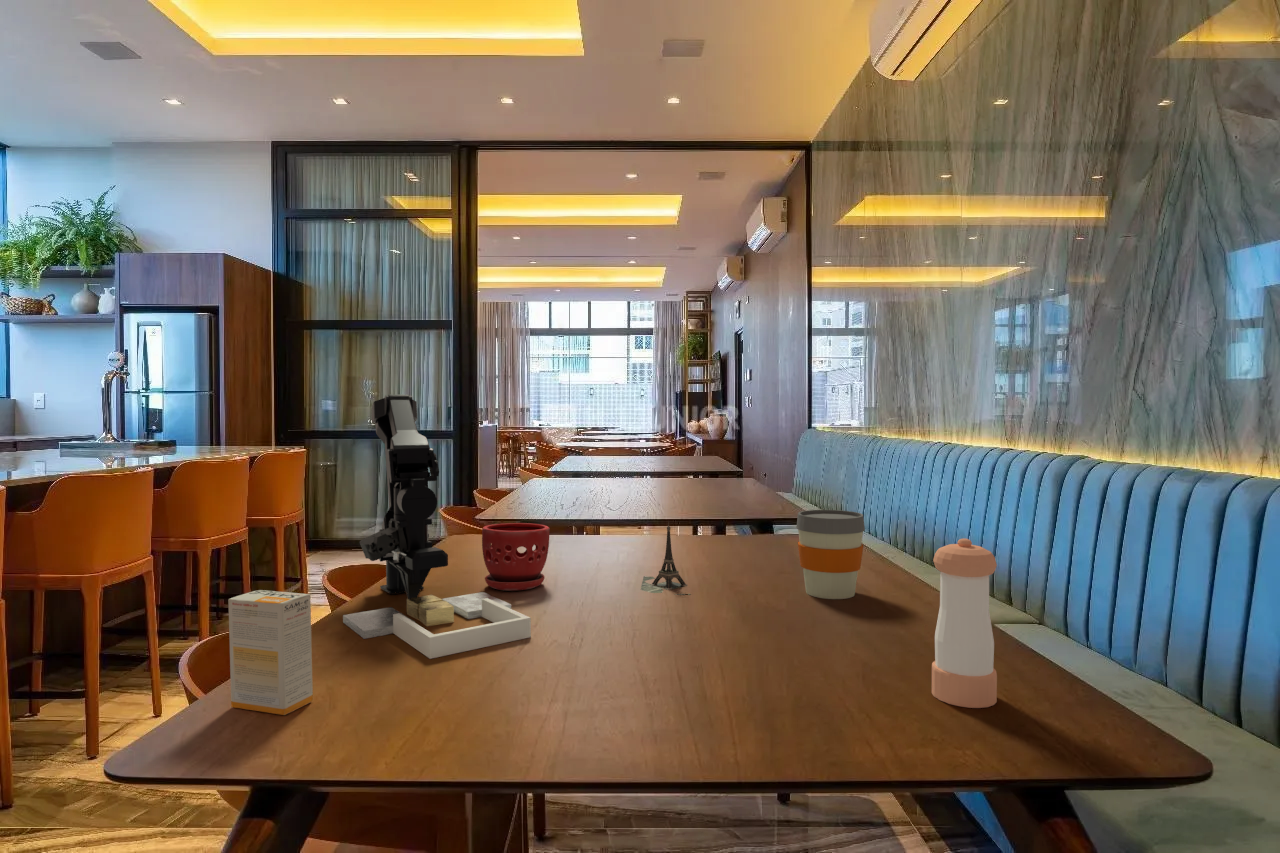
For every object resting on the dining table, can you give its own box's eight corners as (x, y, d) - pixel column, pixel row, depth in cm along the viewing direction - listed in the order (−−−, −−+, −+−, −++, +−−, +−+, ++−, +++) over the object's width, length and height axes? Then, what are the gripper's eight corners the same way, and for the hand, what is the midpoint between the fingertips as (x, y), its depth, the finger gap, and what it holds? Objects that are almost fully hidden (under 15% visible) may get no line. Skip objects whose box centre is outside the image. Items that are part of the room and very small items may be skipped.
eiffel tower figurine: (642, 578, 155) (642, 515, 155) (691, 579, 154) (691, 515, 154) (638, 597, 140) (638, 526, 140) (692, 597, 139) (692, 527, 139)
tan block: (406, 615, 127) (406, 598, 127) (431, 610, 130) (431, 594, 130) (417, 620, 124) (417, 604, 124) (442, 615, 127) (442, 599, 127)
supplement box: (315, 701, 89) (313, 593, 89) (283, 717, 85) (282, 603, 84) (261, 693, 92) (259, 587, 91) (228, 708, 87) (226, 597, 87)
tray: (393, 633, 116) (393, 614, 116) (487, 615, 126) (487, 598, 126) (430, 658, 104) (429, 637, 104) (530, 637, 114) (530, 617, 114)
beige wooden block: (418, 621, 124) (418, 604, 123) (445, 616, 126) (444, 600, 126) (426, 627, 120) (426, 610, 120) (453, 623, 122) (453, 606, 122)
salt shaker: (992, 713, 85) (994, 546, 85) (925, 700, 89) (926, 540, 88) (1000, 692, 91) (1001, 537, 91) (937, 681, 95) (938, 532, 95)
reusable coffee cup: (872, 590, 142) (873, 512, 142) (853, 605, 132) (853, 520, 131) (809, 582, 149) (809, 507, 149) (786, 595, 138) (786, 515, 138)
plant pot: (544, 594, 140) (544, 531, 140) (475, 594, 141) (475, 531, 140) (553, 578, 153) (553, 520, 153) (490, 578, 154) (489, 520, 153)
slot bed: (343, 622, 122) (343, 615, 122) (483, 598, 137) (483, 591, 137) (364, 638, 113) (363, 630, 113) (511, 611, 128) (511, 604, 128)
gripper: (348, 511, 134) (349, 597, 134) (382, 523, 119) (383, 620, 119) (409, 506, 140) (410, 588, 141) (448, 517, 126) (449, 609, 126)
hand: (412, 600), depth 131 cm, fingers closed
